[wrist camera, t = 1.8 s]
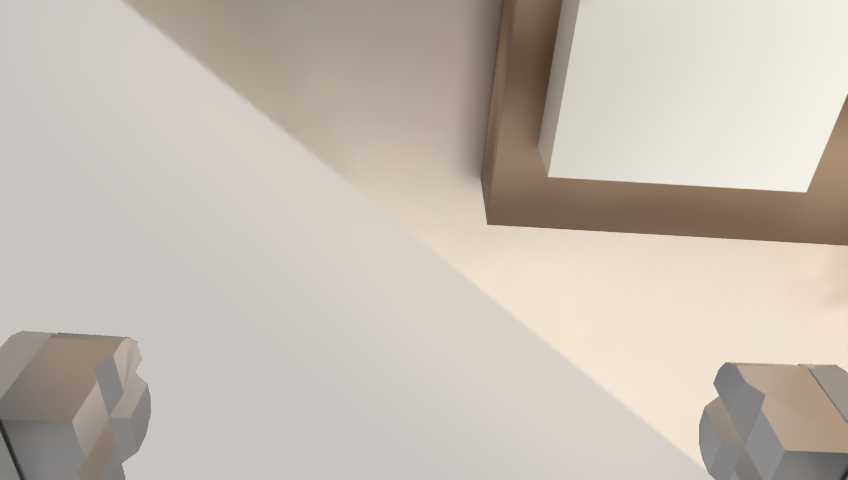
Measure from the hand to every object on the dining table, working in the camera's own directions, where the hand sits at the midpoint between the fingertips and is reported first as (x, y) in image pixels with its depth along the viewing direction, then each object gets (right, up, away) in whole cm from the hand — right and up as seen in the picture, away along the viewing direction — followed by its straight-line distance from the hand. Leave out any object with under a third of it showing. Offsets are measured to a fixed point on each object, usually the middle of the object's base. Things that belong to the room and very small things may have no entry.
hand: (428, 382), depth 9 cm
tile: (+9, +8, +14) cm, 18 cm away
